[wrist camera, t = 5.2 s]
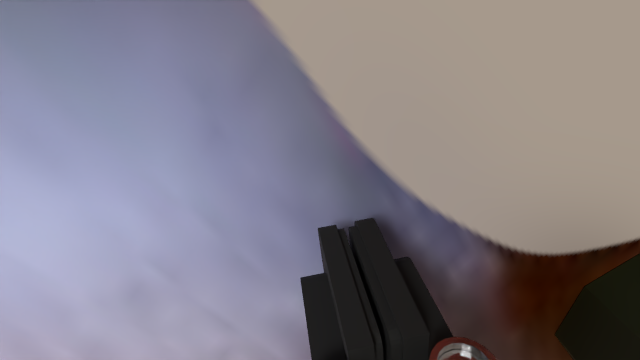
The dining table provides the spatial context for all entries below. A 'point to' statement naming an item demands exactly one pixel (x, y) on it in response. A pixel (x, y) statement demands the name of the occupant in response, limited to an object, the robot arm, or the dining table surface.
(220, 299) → the dining table surface
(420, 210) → the dining table surface
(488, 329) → the dining table surface
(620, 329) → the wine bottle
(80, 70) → the dining table surface
